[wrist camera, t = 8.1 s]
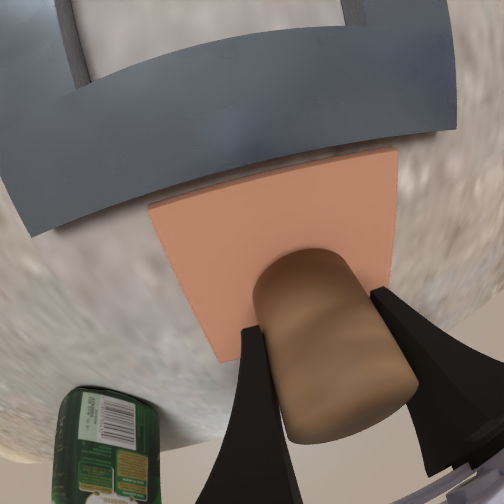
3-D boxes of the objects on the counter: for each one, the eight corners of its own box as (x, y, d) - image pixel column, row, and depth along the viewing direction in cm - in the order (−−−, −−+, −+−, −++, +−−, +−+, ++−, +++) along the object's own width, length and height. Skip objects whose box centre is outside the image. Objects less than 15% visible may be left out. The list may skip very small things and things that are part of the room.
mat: (391, 146, 11) (397, 150, 11) (380, 308, 17) (383, 314, 17) (148, 204, 11) (146, 210, 10) (219, 356, 17) (219, 363, 16)
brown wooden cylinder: (350, 235, 11) (434, 356, 7) (349, 309, 14) (402, 414, 9) (242, 265, 11) (278, 414, 7) (262, 335, 14) (293, 453, 9)
